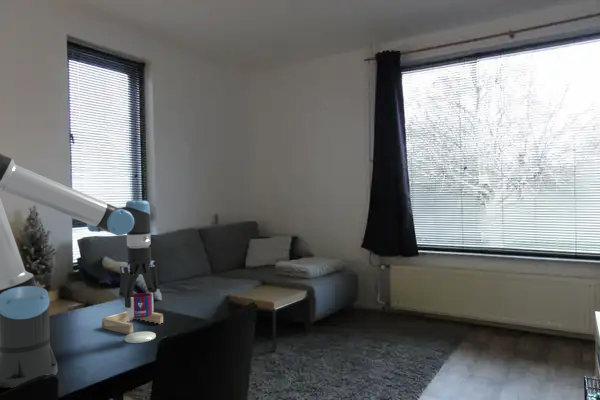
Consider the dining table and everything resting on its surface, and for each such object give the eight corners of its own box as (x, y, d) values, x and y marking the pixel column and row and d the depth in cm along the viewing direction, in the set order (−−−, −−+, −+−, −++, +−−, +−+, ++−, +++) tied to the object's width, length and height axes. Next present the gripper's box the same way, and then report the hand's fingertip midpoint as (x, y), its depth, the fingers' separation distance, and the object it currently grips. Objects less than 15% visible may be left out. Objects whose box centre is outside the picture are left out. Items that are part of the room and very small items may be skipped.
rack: (129, 334, 156) (129, 324, 155) (102, 327, 163) (101, 318, 163) (163, 323, 168) (162, 314, 168) (136, 317, 176) (135, 308, 176)
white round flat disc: (138, 345, 145) (138, 343, 145) (117, 339, 150) (117, 338, 150) (162, 336, 154) (162, 334, 154) (142, 331, 159) (142, 329, 159)
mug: (129, 318, 147) (129, 297, 147) (133, 310, 157) (133, 291, 157) (151, 317, 149) (150, 296, 149) (153, 309, 158) (153, 290, 158)
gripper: (120, 251, 141) (122, 323, 141) (169, 243, 158) (171, 308, 159) (105, 249, 144) (106, 320, 145) (154, 242, 162) (156, 305, 163)
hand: (140, 313), depth 152 cm, fingers closed on mug, 7 cm apart
